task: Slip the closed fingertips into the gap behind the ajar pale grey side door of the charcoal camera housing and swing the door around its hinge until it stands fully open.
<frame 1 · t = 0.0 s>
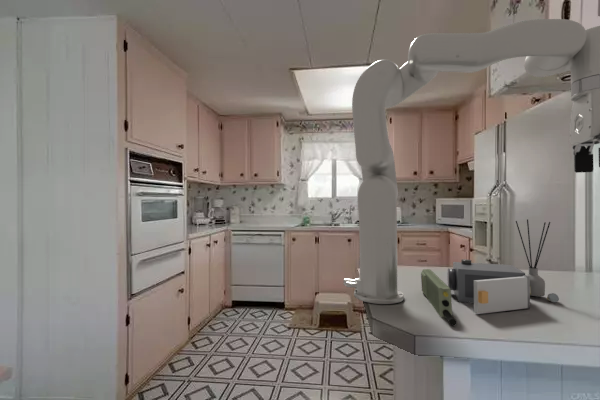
hand: (595, 169, 65), 31 cm above the counter, tool pointing down, fingers open, 9 cm apart
side door: (504, 294, 69), point 4 cm above the counter, hinge at 35.0°
reed diffuser: (538, 297, 80), on the counter
camera housing: (486, 298, 79), on the counter
handheld radio: (438, 308, 73), on the counter
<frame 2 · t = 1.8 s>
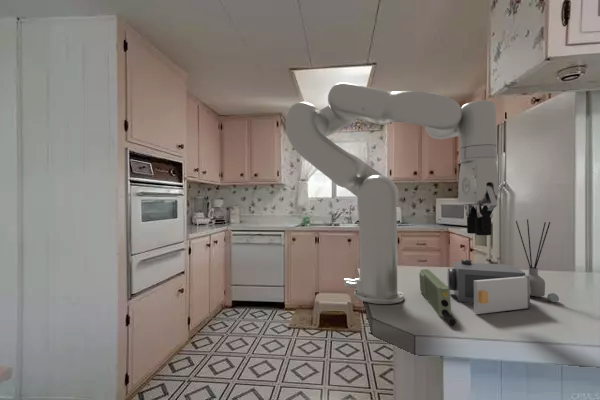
hand: (478, 233, 72), 17 cm above the counter, tool pointing down, fingers open, 3 cm apart
nothing on the counter moved.
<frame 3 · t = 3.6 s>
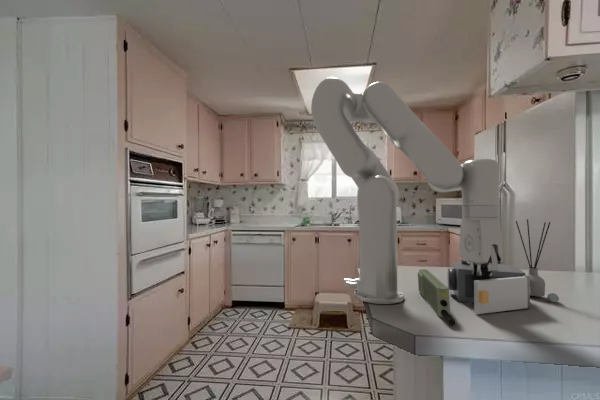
hand: (481, 292, 71), 4 cm above the counter, tool pointing down, fingers closed
side door: (504, 294, 69), point 4 cm above the counter, hinge at 35.4°, touching gripper
everything else where it was.
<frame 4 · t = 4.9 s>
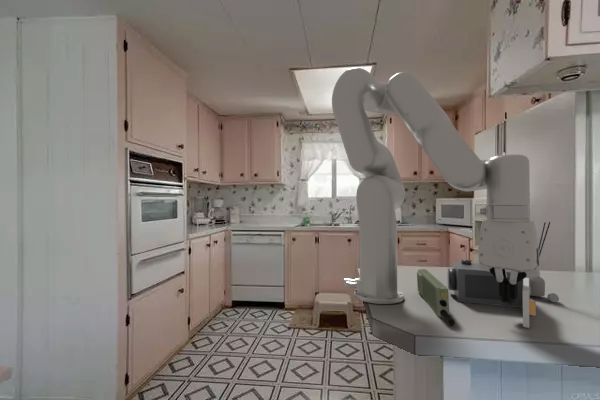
hand: (508, 301, 65), 4 cm above the counter, tool pointing down, fingers closed
side door: (528, 299, 65), point 4 cm above the counter, hinge at 73.4°, touching gripper
everything else where it was.
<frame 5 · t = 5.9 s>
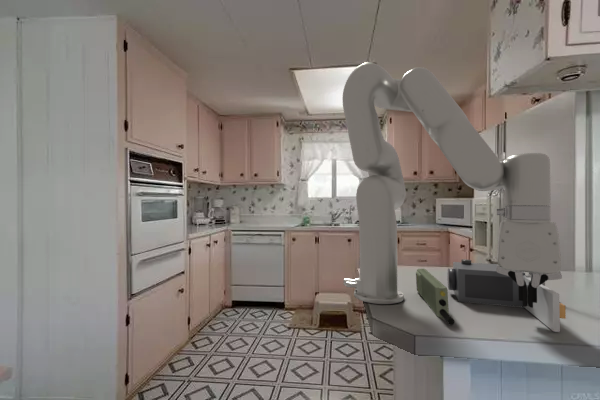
hand: (527, 305, 63), 4 cm above the counter, tool pointing down, fingers closed
side door: (541, 300, 64), point 4 cm above the counter, hinge at 92.0°, touching gripper
everything else where it was.
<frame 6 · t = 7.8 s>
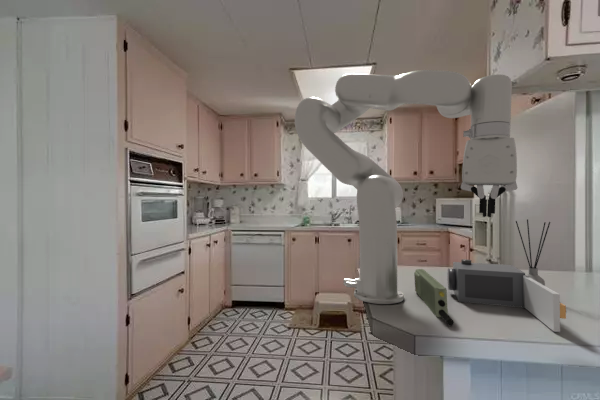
hand: (486, 216, 69), 21 cm above the counter, tool pointing down, fingers closed
side door: (541, 300, 64), point 4 cm above the counter, hinge at 92.2°
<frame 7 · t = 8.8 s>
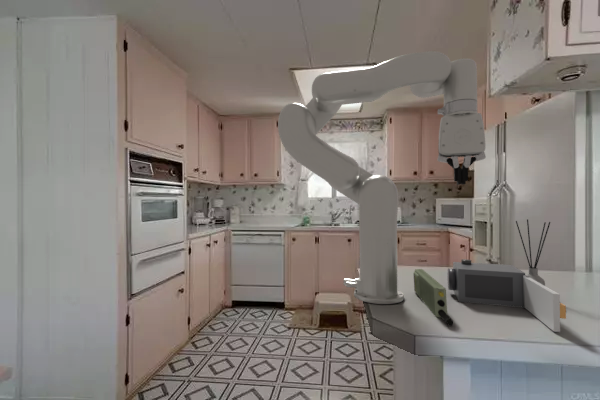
hand: (461, 184, 77), 29 cm above the counter, tool pointing down, fingers closed
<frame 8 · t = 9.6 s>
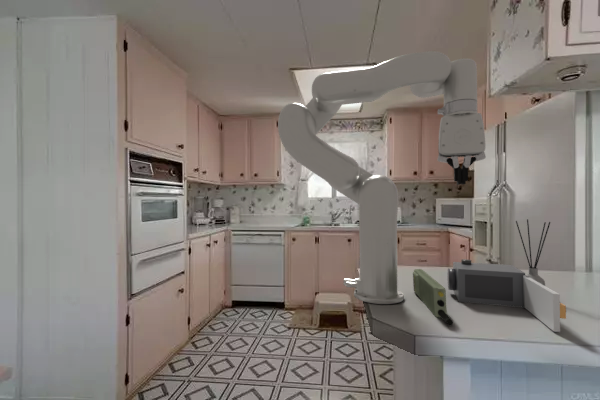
hand: (461, 184, 77), 29 cm above the counter, tool pointing down, fingers closed
at the end: side door at +92° (first picture: +35°) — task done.
